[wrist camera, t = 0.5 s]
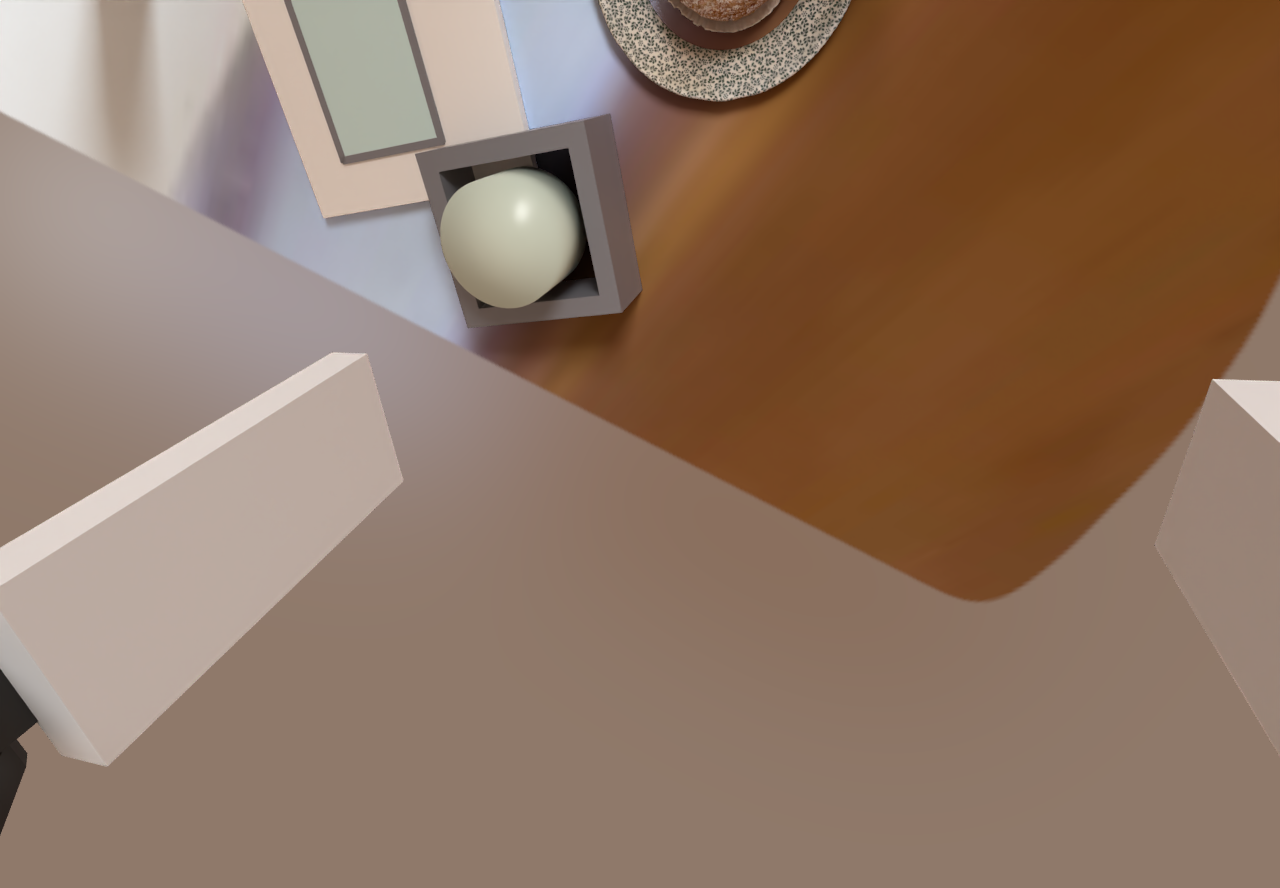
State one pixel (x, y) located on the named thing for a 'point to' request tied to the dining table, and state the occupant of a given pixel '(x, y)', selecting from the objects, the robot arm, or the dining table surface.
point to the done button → (513, 235)
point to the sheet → (387, 90)
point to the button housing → (598, 204)
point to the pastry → (721, 74)
